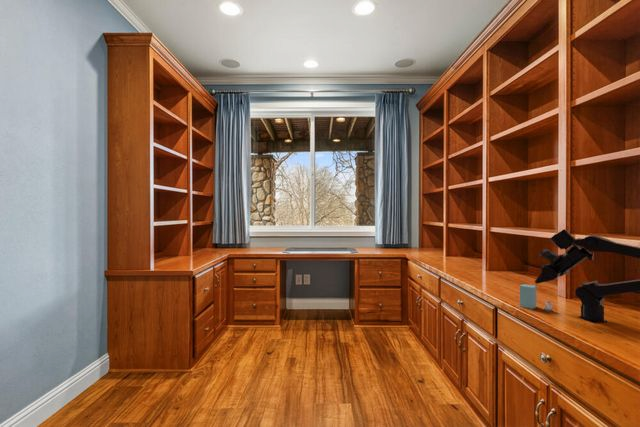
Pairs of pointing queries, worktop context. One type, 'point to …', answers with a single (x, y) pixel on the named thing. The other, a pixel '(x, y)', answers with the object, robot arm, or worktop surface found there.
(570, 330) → the worktop surface
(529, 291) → the pale teal block
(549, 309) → the post
